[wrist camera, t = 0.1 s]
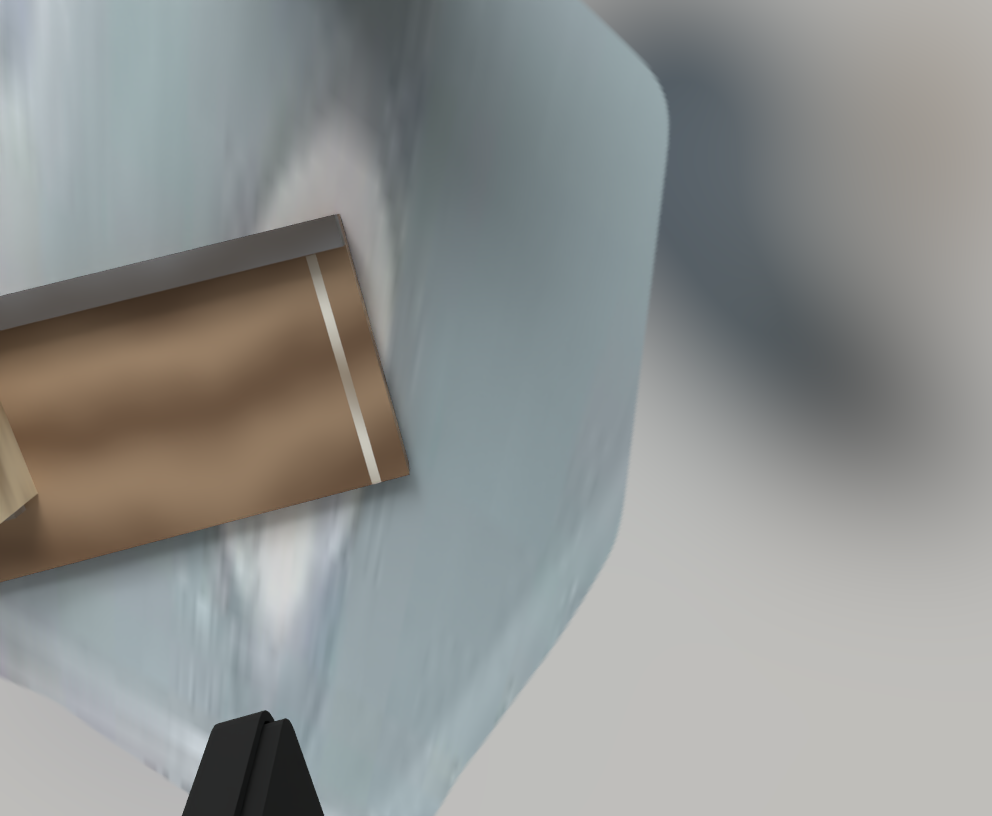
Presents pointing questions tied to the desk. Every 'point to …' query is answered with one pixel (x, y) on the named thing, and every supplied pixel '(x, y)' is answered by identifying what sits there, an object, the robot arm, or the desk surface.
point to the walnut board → (191, 394)
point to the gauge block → (12, 474)
